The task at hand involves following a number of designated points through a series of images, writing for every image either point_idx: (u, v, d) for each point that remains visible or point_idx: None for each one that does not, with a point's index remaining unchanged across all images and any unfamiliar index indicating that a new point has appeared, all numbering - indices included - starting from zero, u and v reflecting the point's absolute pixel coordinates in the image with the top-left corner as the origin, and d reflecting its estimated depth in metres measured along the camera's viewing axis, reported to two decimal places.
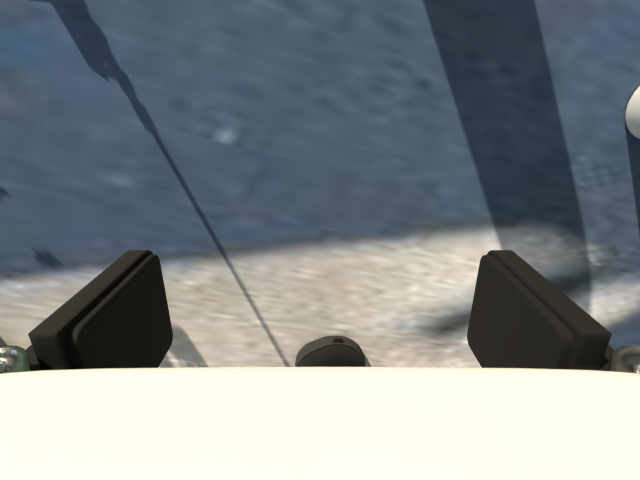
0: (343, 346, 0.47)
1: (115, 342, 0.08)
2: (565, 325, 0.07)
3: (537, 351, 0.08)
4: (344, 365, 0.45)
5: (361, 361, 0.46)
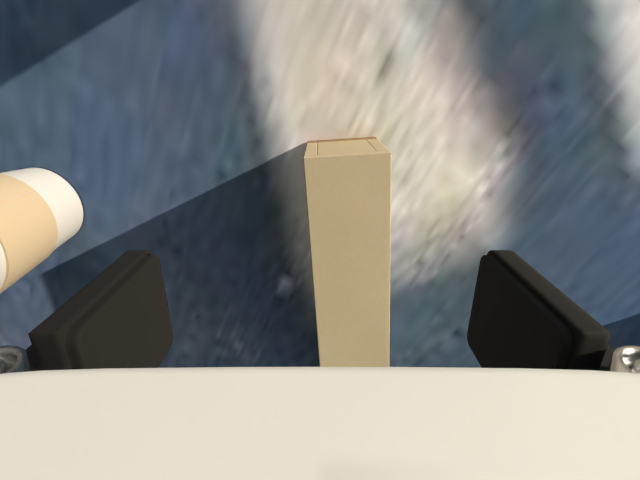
0: None
1: (115, 342, 0.08)
2: (565, 325, 0.07)
3: (537, 351, 0.08)
4: None
5: None
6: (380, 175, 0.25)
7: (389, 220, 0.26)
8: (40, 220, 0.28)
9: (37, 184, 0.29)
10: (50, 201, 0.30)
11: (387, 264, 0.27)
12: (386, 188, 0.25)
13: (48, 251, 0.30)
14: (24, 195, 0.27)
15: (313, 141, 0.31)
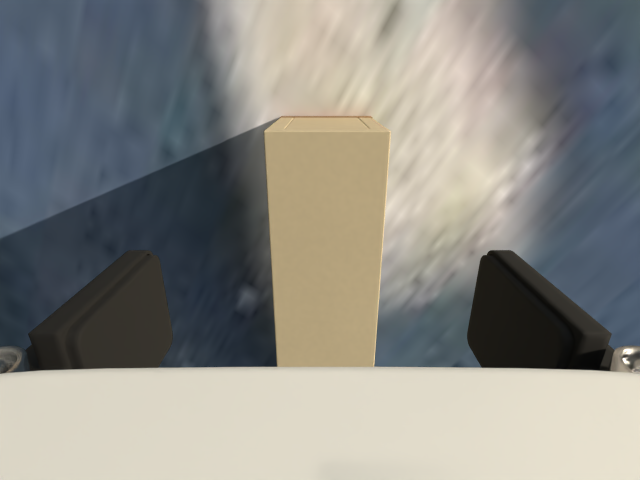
0: None
1: (115, 342, 0.08)
2: (566, 326, 0.07)
3: (537, 351, 0.08)
4: None
5: None
6: (373, 164, 0.17)
7: (382, 228, 0.18)
8: None
9: None
10: None
11: (376, 288, 0.20)
12: (380, 183, 0.18)
13: None
14: None
15: (289, 116, 0.24)
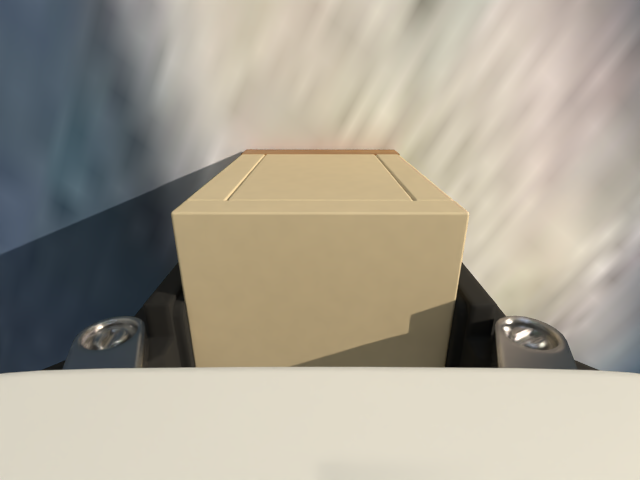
0: None
1: None
2: (463, 299, 0.08)
3: None
4: None
5: None
6: (425, 283, 0.08)
7: None
8: None
9: None
10: None
11: None
12: (439, 319, 0.08)
13: None
14: None
15: (258, 151, 0.14)
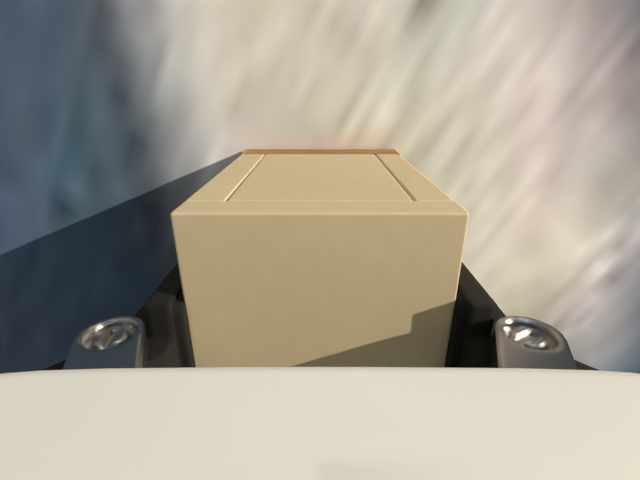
0: None
1: None
2: (462, 299, 0.08)
3: None
4: None
5: None
6: (425, 283, 0.08)
7: None
8: None
9: None
10: None
11: None
12: (439, 320, 0.08)
13: None
14: None
15: (258, 151, 0.14)
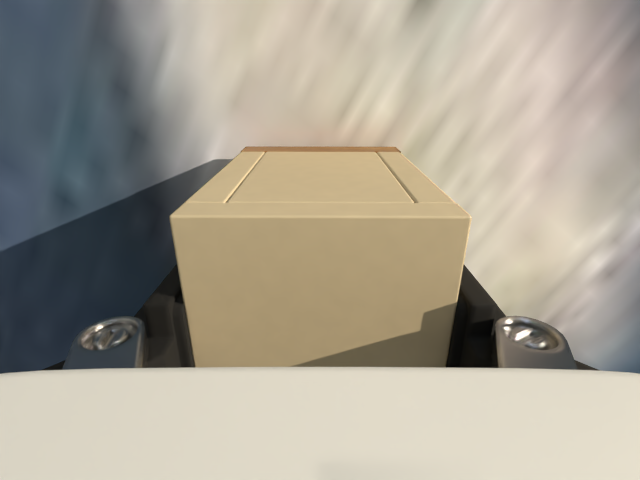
0: None
1: None
2: (462, 299, 0.08)
3: None
4: None
5: None
6: (427, 287, 0.08)
7: None
8: None
9: None
10: None
11: None
12: (440, 322, 0.08)
13: None
14: None
15: (258, 148, 0.14)
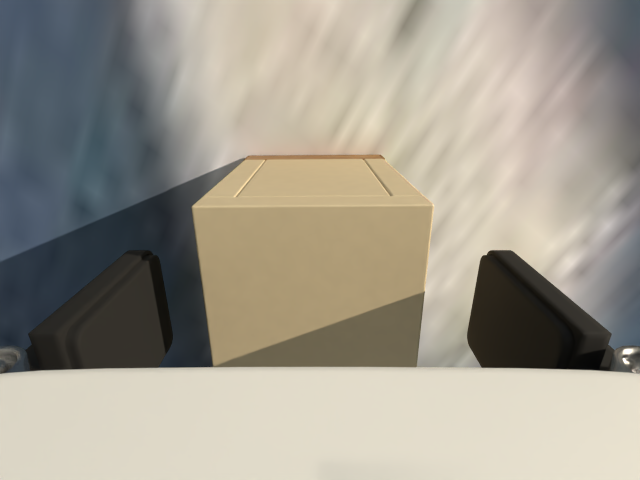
0: None
1: (115, 342, 0.08)
2: (566, 325, 0.07)
3: (537, 351, 0.08)
4: None
5: None
6: (400, 264, 0.09)
7: (414, 366, 0.10)
8: None
9: None
10: None
11: None
12: (413, 294, 0.10)
13: None
14: None
15: (259, 156, 0.16)
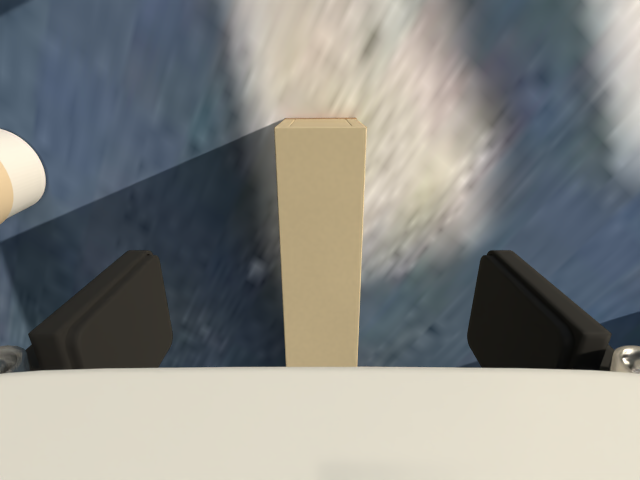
0: None
1: (115, 342, 0.08)
2: (565, 325, 0.07)
3: (537, 351, 0.08)
4: None
5: None
6: (355, 152, 0.23)
7: (362, 200, 0.25)
8: None
9: None
10: (7, 162, 0.28)
11: (359, 248, 0.26)
12: (360, 166, 0.24)
13: (1, 216, 0.28)
14: None
15: (291, 118, 0.30)
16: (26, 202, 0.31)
